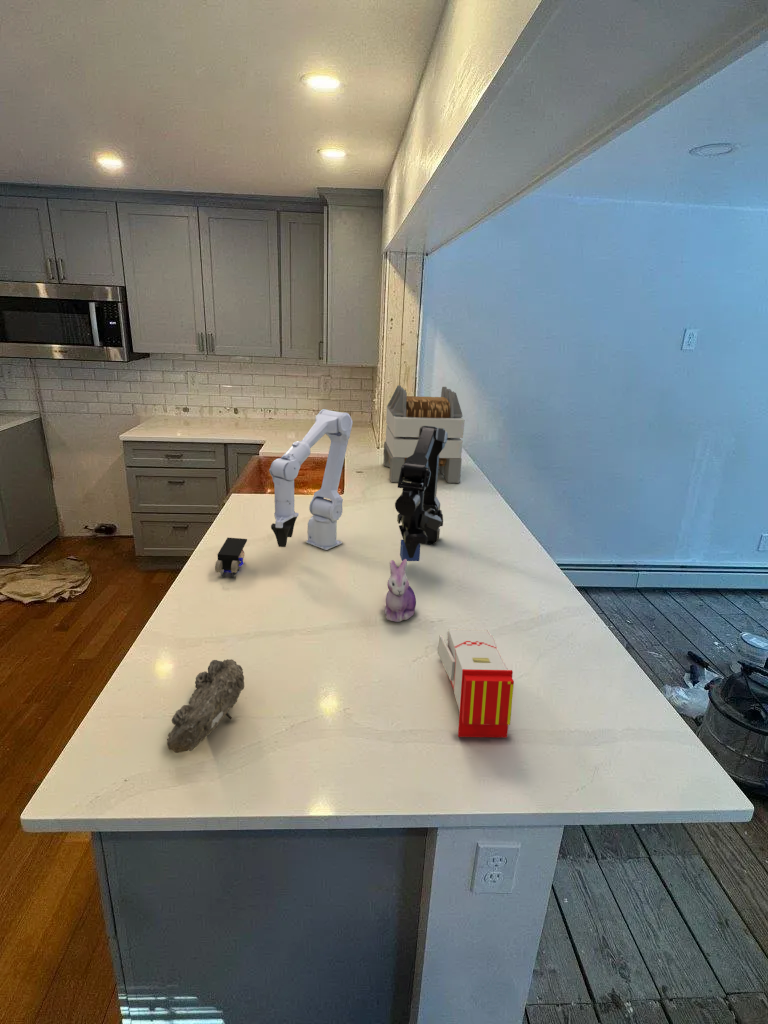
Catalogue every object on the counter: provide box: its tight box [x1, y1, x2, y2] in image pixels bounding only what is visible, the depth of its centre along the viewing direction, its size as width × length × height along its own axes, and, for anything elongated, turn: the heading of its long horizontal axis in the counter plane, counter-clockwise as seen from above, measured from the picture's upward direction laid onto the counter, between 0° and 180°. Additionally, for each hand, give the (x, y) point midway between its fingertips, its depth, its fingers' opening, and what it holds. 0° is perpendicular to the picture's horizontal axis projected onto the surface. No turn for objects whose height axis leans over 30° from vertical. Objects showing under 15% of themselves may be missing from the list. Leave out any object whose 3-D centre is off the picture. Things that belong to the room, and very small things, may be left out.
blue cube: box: [399, 539, 421, 562], centre depth 168 cm, size 5×5×5 cm
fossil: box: [166, 658, 245, 754], centre depth 106 cm, size 22×10×15 cm
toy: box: [437, 628, 515, 738], centre depth 117 cm, size 12×13×30 cm
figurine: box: [384, 559, 417, 623], centre depth 145 cm, size 9×10×15 cm
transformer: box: [383, 384, 465, 484], centre depth 268 cm, size 34×33×41 cm
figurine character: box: [214, 537, 248, 578], centre depth 166 cm, size 7×8×15 cm
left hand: (285, 541), depth 171 cm, fingers open, 7 cm apart
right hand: (409, 554), depth 168 cm, fingers closed on blue cube, 4 cm apart
